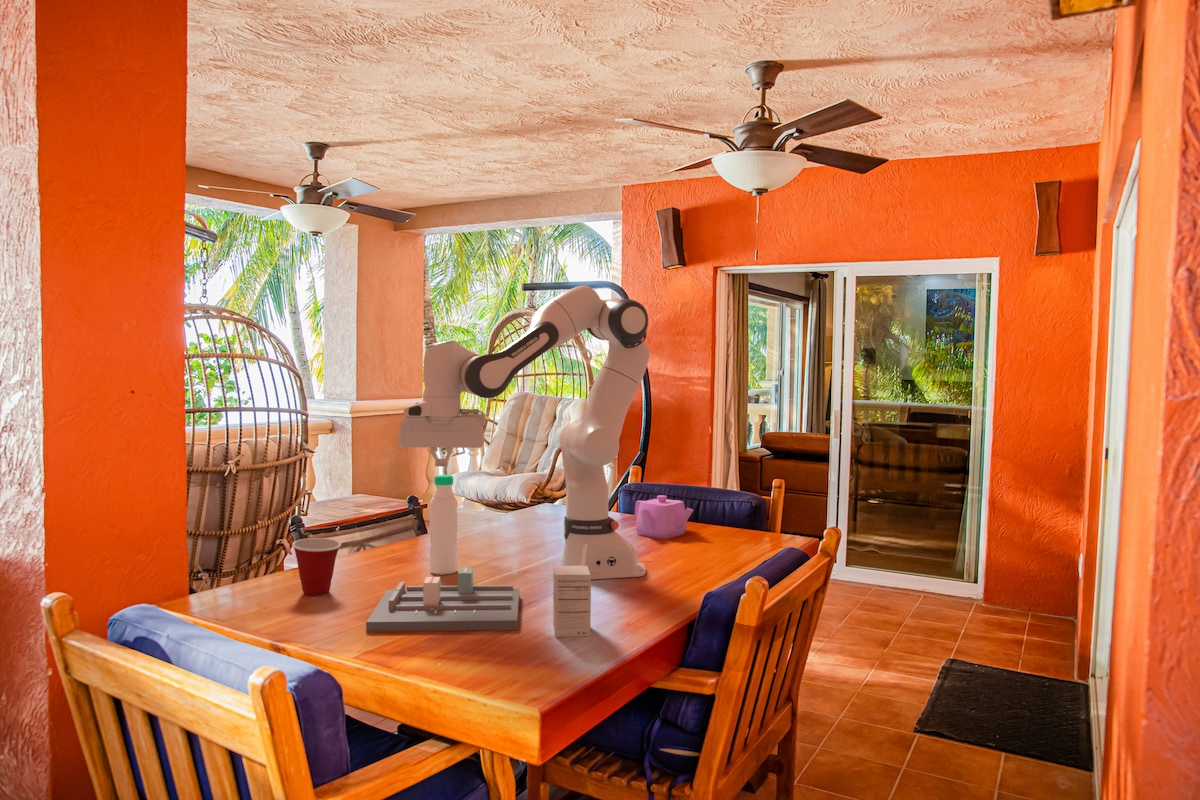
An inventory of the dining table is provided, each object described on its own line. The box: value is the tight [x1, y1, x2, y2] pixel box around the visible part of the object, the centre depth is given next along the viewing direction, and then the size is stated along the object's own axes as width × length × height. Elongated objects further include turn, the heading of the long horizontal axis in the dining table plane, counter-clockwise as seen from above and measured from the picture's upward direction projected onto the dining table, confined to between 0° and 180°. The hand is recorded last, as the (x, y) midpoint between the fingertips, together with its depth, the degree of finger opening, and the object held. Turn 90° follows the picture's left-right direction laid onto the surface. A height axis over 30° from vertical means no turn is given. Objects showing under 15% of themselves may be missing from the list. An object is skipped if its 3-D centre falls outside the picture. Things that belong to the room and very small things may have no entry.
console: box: [365, 581, 520, 633], centre depth 180 cm, size 30×24×4 cm
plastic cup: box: [291, 537, 342, 597], centre depth 195 cm, size 11×11×12 cm
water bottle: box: [428, 474, 458, 576], centre depth 216 cm, size 7×7×25 cm
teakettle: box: [633, 494, 694, 540], centre depth 268 cm, size 17×17×12 cm
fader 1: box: [422, 576, 441, 605], centre depth 180 cm, size 3×5×5 cm, turn 4°
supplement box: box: [552, 565, 592, 638], centre depth 169 cm, size 7×7×13 cm
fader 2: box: [457, 566, 474, 594], centre depth 189 cm, size 3×5×5 cm, turn 4°
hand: (441, 466), depth 201 cm, fingers closed
